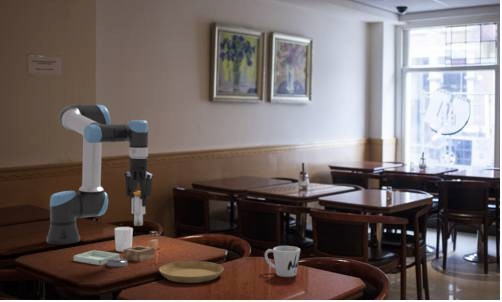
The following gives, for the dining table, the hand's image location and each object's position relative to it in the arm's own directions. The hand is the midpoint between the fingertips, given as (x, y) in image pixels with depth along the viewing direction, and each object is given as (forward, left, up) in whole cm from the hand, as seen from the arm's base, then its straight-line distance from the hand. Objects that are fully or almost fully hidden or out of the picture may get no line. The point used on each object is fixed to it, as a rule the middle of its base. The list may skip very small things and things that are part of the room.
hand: (138, 213), depth 260 cm
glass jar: (0, 0, -5) cm, 5 cm away
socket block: (0, 0, -19) cm, 19 cm away
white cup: (-15, +9, -19) cm, 26 cm away
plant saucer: (+34, -11, -20) cm, 41 cm away
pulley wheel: (0, -13, -19) cm, 23 cm away
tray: (-13, -11, -19) cm, 26 cm away
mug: (+62, +9, -19) cm, 65 cm away
